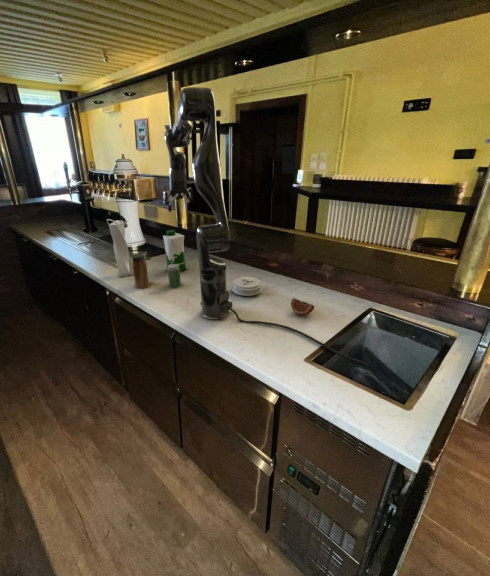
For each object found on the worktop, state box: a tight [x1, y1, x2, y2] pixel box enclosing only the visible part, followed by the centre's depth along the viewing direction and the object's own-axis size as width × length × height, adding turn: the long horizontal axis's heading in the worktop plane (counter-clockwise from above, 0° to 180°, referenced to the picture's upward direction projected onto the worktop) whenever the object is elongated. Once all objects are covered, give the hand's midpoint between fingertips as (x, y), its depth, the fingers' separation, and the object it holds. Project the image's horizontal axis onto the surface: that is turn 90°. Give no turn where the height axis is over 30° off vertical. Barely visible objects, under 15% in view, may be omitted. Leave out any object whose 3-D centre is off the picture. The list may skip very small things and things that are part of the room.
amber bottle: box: [131, 253, 150, 289], centre depth 135 cm, size 6×6×14 cm
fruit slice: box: [290, 297, 315, 316], centre depth 109 cm, size 8×7×5 cm
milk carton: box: [162, 229, 187, 273], centre depth 150 cm, size 9×9×20 cm
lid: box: [231, 276, 263, 297], centre depth 127 cm, size 13×13×5 cm
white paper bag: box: [106, 218, 134, 278], centre depth 147 cm, size 8×8×28 cm
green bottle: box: [166, 264, 182, 289], centre depth 135 cm, size 5×5×10 cm
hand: (178, 210), depth 147 cm, fingers open, 8 cm apart
